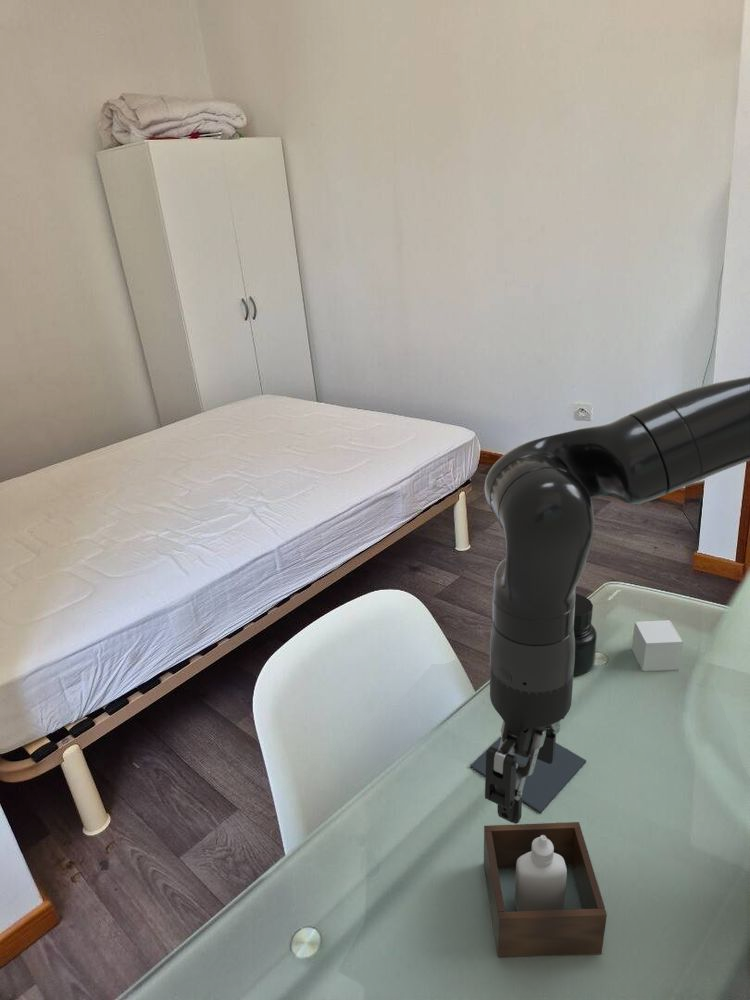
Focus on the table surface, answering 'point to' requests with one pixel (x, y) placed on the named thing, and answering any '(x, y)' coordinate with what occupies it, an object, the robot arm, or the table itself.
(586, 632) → the ink bottle
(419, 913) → the table surface
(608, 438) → the robot arm
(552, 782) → the mat
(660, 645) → the grey cube
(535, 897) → the eye dropper bottle
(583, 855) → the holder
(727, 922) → the table surface
